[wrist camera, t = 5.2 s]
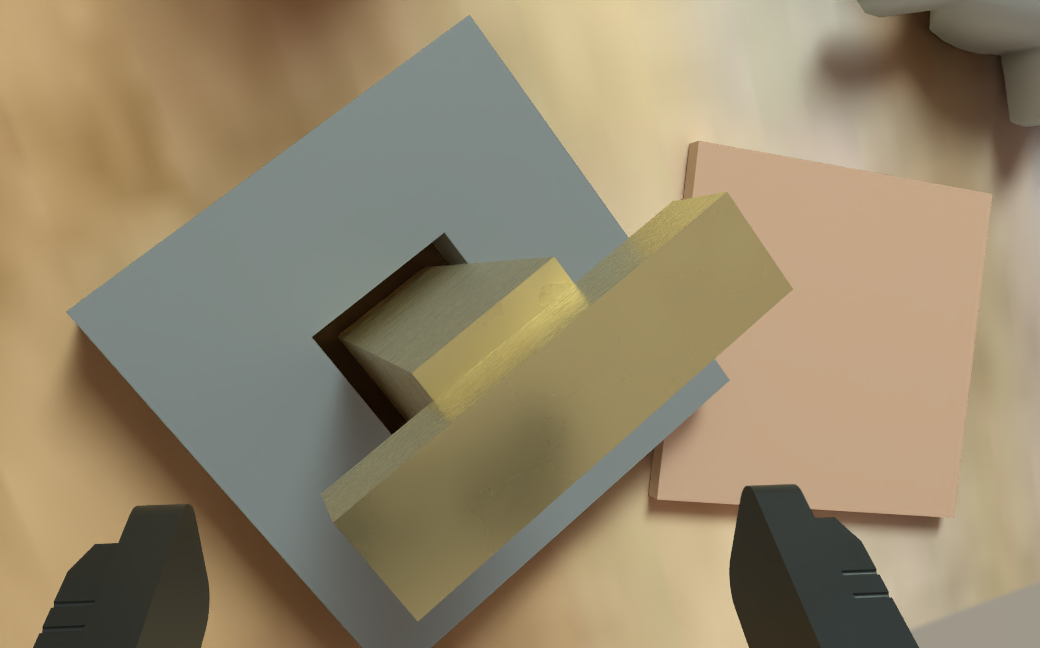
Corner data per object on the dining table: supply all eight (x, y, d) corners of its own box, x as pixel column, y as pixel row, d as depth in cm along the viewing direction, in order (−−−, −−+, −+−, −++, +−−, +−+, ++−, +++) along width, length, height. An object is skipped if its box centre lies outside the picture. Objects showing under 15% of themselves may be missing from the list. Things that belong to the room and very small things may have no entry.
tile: (648, 495, 38) (657, 499, 38) (689, 143, 38) (698, 140, 38) (940, 513, 42) (953, 517, 42) (978, 195, 42) (992, 194, 42)
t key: (341, 474, 35) (442, 650, 18) (269, 389, 34) (306, 492, 17) (548, 301, 37) (812, 317, 20) (485, 217, 36) (706, 160, 19)
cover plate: (379, 650, 36) (392, 682, 33) (80, 309, 32) (65, 311, 29) (693, 373, 39) (729, 380, 36) (450, 36, 35) (469, 14, 33)
